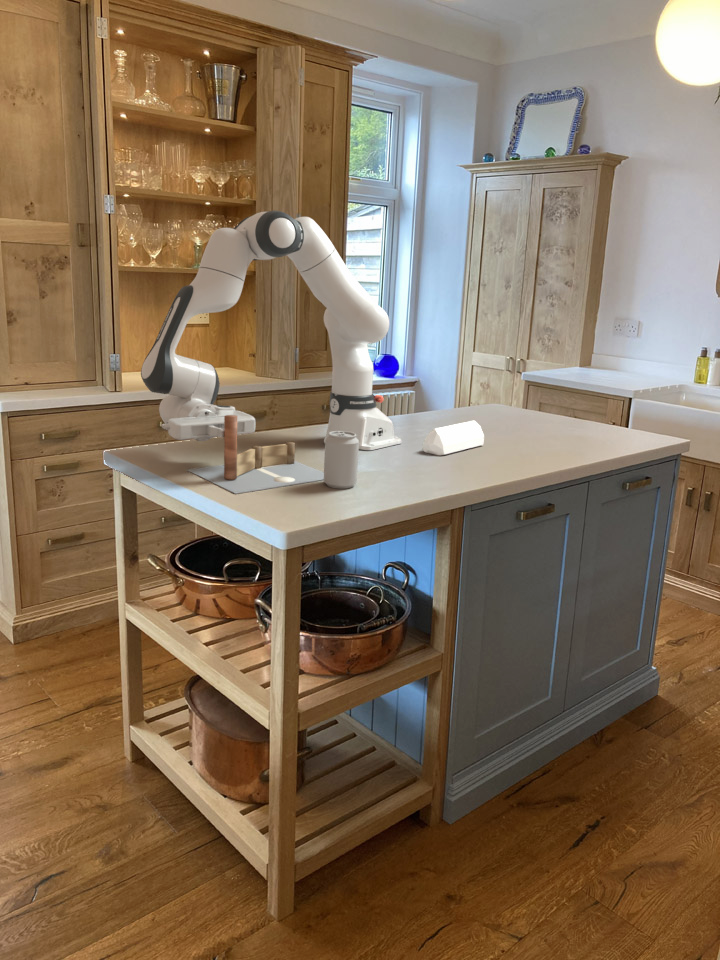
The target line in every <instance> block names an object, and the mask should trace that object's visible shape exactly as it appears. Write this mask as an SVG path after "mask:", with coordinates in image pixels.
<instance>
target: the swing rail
mask: <svg viewBox="0 0 720 960" xmlns="http://www.w3.org/2000/svg"><path fill="white" fill-rule="evenodd" d="M223 439H224V441H223V443H224V444H223V445H224V446H223V449H224V451H223V457H224V458H223V465H224V479H228V480H233V479H236V478H237V476H239V475H241V474H243V473H245V472H248V471H250V470H252V469H254V468H255V449H251V448H249V449H248V450H244V451H242V452H239V453H238V435H237V416H235V415H226V416H224V437H223Z"/></svg>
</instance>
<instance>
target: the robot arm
mask: <svg viewBox="0 0 720 960" xmlns="http://www.w3.org/2000/svg"><path fill="white" fill-rule="evenodd" d="M286 256H287V258H289V260H291V261H292V263H293V265H294V266H295V268H296V270H297V271H298V273H299V274H300V276H301V277H302V280H303V281H304V283H305V284H306V285H307V287H308V288H309V290H310V291H311V293H312V294H313V296H314V297H315V298H316V299H317V300H318V301H319V302H320V303H322V305H323V306H324V307H325V308H326V309H325V310H324V314H323V324H324V327H325V328H326V330H327V333H328V341H329V347H330V353H331V363H332V374H331V376H332V378H331V391H330V394H329V411H330V412H329V419H328V424H327V429H326V433H325V435H324V440H323V443H324V444H325V439H326V438H327V437H328V436H329V434H328V433H329V432H332V431H348V432H353V433H355V434H356V438H357V439H358V441H359V450H362V451H373V450H378V449H383V448H387V447H392V446H396V445H399V444H402V438H400V437H398V436H396V435H395V433H394V429H395V428H394V424H393V420H391V419H390V417H388V416H387V415H386V414H385V413H384V412H382V411H381V410H380V409H379V408H378V407H377V403H379V404H381V403H383V402H384V401H385V398H384V397H383V395H379V394H376V395H375V394H374V393H373V381H374V364H373V361H372V359H371V356H370V352H369V348H368V347H369V346H368V345H370V344H376V343H379V342H381V341H382V340H383V339H384V338H385V337H386V336H387V334H388V332H389V330H390V329H389V328H390V318H389V316H388V314H387V313H388V312H386V311H385V309H384V308H383V307H381V306H380V305H379V304H378V303H377V302H376V301H375V300H374V299H373V298H372V297H371V295H370V293H368V292H367V290H366V289H365V288H364V287H363V286H362V285H361V284H360V282H359V281H358V280H357V278H355V276H354V275H353V274H352V272H351V271H350V270H349V268H348V267H347V265H346V263H345V262H344V260H343V258H342V257H341V256H340V253H339V252H338V251H337V249H336V247H335V245H334V244H333V242H332V241H331V240H330V238H329V237H328V234H326V233H325V231H324V230H323V229H322V227H320V225H319V224H318V223H317V222H316V221H315V220H314V219H313V218H311V217H309V216H300V217H299V216H298V217H295V218H293V217H292V216H291V215H290V214H288V213H286V212H283V211H281V210H269V211H261V212H257V213H255V214H253V215H251V216H246V217H245V218H244V219H241V221H240V222H239V223H237V225H236V226H234V228H232V227H221V228H217V229H216V230H214V231H213V233H212V234H211V236H210V238H209V240H208V242H207V243H206V246H205V249H204V251H203V254H202V257H201V259H200V260H201V261H200V264H199V267H198V270H197V273H196V275H195V277H194V279H193V280H192V281H191V283H190V284H189V285H185V286H184V285H183V287H181V288H180V289H179V291H178V292H177V294H176V295H175V297H174V299H173V301H172V303H171V305H170V307H169V310H168V312H167V314H166V316H165V317H164V318H165V319H164V321H163V323H162V325H161V327H160V329H159V332H158V334H157V337H156V338H155V341H154V343H153V345H152V347H151V349H150V350H149V352H148V353H147V355H146V357H145V359H144V361H143V363H142V366H141V369H140V376H141V379H142V382H143V384H144V385H145V387H146V388H147V389H148V390H149V391H150V392H152V393H154V394H162V395H166V396H165V397H164V398H162V399H161V400H160V401H161V402H160V403H159V408H158V411H159V415H160V418H161V419H162V421H163V422H164V423H162V424H161V428H162V429H164V430H167V431H168V435H169V436H170V437H172V438H173V439H175V440H178V441H184V440H195V441H198V442H206V441H209V440H210V439H212V438H217V437H218V438H224V416H226V415H235V416H237V436H238V435H246V434H247V435H248V434H254V433H255V432H256V417H254V416H253V415H251V414H249V413H246V412H244V411H240V410H237V409H236V407H235V406H233V405H221V404H219V405H218V404H215V402H216V400H217V397H218V394H219V390H220V384H221V383H220V380H219V379H220V378H219V375H218V372H217V370H216V368H215V366H214V365H212V364H211V363H207V362H203V361H201V360H197V359H193V358H190V357H186V356H183V355H179V354H177V353H176V350H177V347H178V344H179V342H180V340H181V338H182V335H183V333H184V331H185V328H186V327H187V324H188V323H189V321H190V320H191V319H192V318H193V317H195V316H197V315H201V314H210V313H211V314H212V313H220V312H224V311H227V310H229V309H231V308H233V307H234V306H235V305H236V304H237V303H238V302H239V300H240V297H241V294H242V291H243V288H244V283H245V279H246V276H247V271H248V268H249V267H250V264H251V263H252V261H271V260H273V259H276V258H280V257H286Z"/></svg>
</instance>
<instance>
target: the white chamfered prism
mask: <svg viewBox="0 0 720 960" xmlns="http://www.w3.org/2000/svg"><path fill="white" fill-rule="evenodd" d="M422 442H423V443H422V444H421V450H422V451H423V452H424V453H427V454H431V455H435V456H444V455H448V454H453V453H456V452H461V451H464V450H467V449H472V448H476V447H480V446H484V443H485V434H484V432H483V430H482V426H481V425H480V424H479V423H478V422H477V421H476V420H469V421H466V422H460V423H455V424H451V425H447V426H442V427H441V426H440V427H435V428H434V429H432V430H431V431H429V432H428V434H427V435H426V437H425V439H424V440H423V441H422Z"/></svg>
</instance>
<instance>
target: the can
mask: <svg viewBox="0 0 720 960" xmlns="http://www.w3.org/2000/svg"><path fill="white" fill-rule="evenodd" d="M328 434H329V436H328V437H327V438H326V439H325V438H324V439H325V443H324V459H323V460H324V461H323V462H324V463H323V472H324V480H323V483H324V484H326V486H328V487H330V488H332V489H339V490H340V489H343V490H344V489H350V488H353V487H354V486H355V485H356V484H357V483H358V465H359V464H358V463H359V450H360V449H359V441H358V439H357V438H356V434H355V433H353V432H348V431H332V432H329V433H328Z"/></svg>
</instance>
